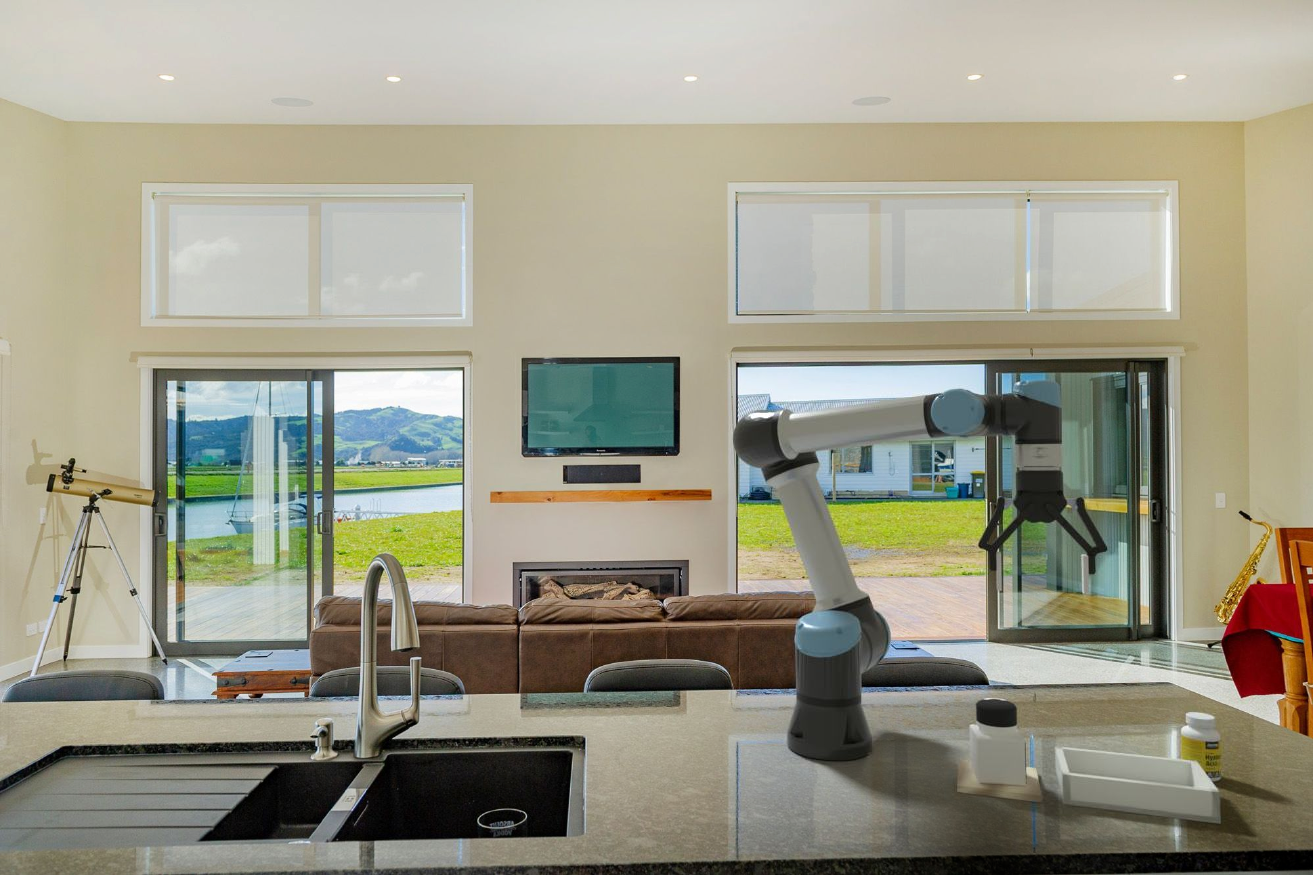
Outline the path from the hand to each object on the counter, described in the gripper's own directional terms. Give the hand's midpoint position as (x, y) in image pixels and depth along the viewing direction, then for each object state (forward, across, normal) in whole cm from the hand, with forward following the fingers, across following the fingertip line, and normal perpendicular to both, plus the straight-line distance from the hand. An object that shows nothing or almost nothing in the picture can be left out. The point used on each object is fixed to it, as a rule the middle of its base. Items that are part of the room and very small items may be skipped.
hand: (1041, 591), depth 143 cm
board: (+29, -8, -14) cm, 33 cm away
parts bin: (+29, +11, -13) cm, 33 cm away
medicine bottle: (+28, -8, -14) cm, 32 cm away
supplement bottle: (+29, +23, 0) cm, 37 cm away
